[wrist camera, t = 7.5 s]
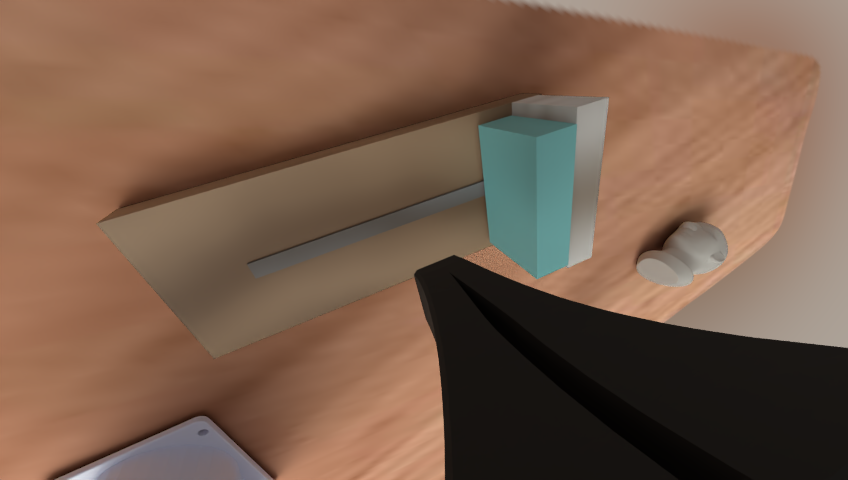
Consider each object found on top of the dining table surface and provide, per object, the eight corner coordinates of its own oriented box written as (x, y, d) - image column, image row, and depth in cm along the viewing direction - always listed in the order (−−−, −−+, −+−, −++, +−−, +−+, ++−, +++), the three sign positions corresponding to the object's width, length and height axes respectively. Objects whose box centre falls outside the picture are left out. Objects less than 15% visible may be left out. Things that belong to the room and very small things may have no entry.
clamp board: (525, 216, 20) (595, 255, 15) (220, 337, 16) (190, 440, 11) (522, 93, 16) (614, 95, 11) (116, 209, 12) (5, 286, 7)
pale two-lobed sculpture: (684, 212, 29) (684, 262, 30) (626, 230, 26) (628, 284, 27) (745, 214, 25) (742, 272, 26) (683, 235, 22) (682, 299, 23)
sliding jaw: (516, 231, 18) (568, 265, 14) (489, 242, 17) (537, 279, 14) (511, 115, 14) (577, 123, 11) (478, 125, 14) (536, 137, 11)
